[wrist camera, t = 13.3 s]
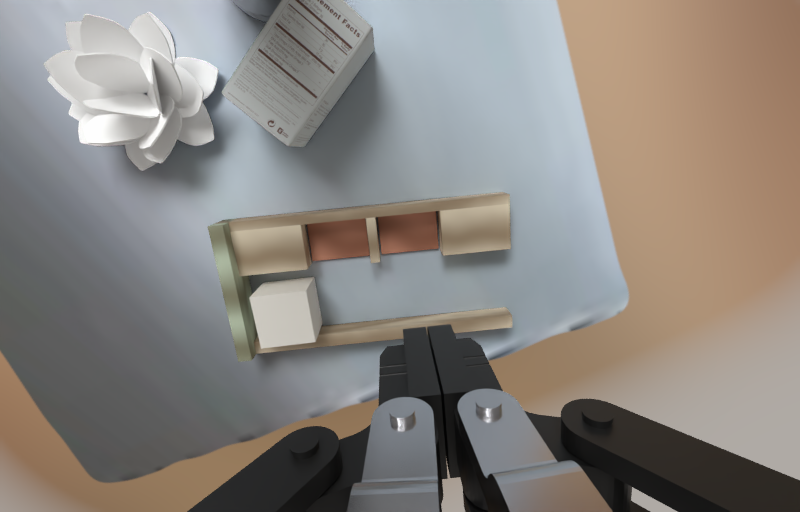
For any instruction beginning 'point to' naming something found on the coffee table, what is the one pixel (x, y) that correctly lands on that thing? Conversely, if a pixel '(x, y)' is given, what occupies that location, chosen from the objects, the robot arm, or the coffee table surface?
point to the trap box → (347, 237)
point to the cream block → (286, 312)
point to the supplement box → (300, 67)
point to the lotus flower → (133, 87)
